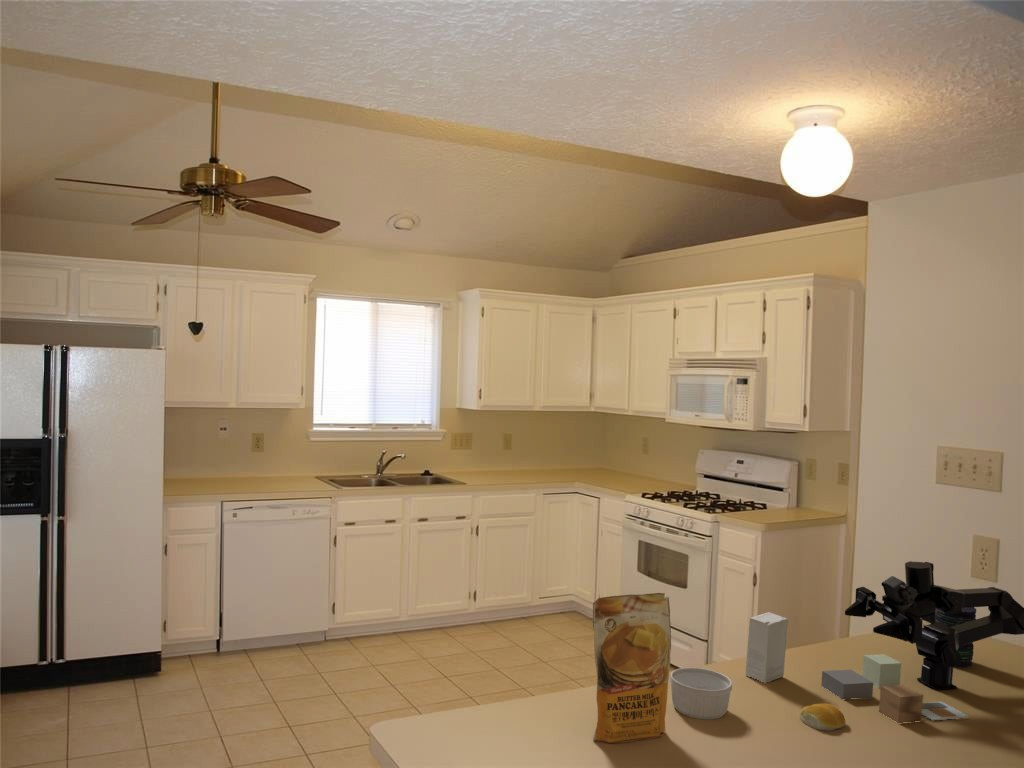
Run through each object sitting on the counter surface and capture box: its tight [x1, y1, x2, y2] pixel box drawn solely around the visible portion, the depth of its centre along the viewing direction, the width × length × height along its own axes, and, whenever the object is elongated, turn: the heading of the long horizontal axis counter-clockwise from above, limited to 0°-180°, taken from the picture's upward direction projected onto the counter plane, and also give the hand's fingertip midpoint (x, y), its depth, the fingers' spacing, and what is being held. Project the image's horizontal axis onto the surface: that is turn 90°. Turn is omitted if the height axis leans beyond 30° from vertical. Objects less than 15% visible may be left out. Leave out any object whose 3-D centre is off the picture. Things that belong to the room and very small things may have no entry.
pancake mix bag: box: [592, 592, 672, 744], centre depth 165 cm, size 7×19×28 cm, turn 111°
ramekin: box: [669, 667, 733, 721], centre depth 180 cm, size 13×13×7 cm
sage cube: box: [861, 653, 902, 689], centre depth 202 cm, size 6×6×6 cm
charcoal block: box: [820, 669, 874, 700], centre depth 195 cm, size 8×8×4 cm
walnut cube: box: [878, 684, 924, 724], centre depth 182 cm, size 6×6×6 cm
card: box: [921, 701, 970, 721], centre depth 186 cm, size 10×8×1 cm
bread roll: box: [799, 703, 846, 732], centre depth 177 cm, size 8×9×4 cm
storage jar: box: [935, 607, 977, 669], centre depth 222 cm, size 10×10×15 cm
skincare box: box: [745, 611, 789, 684], centre depth 201 cm, size 8×6×15 cm
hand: (859, 621), depth 194 cm, fingers open, 9 cm apart
